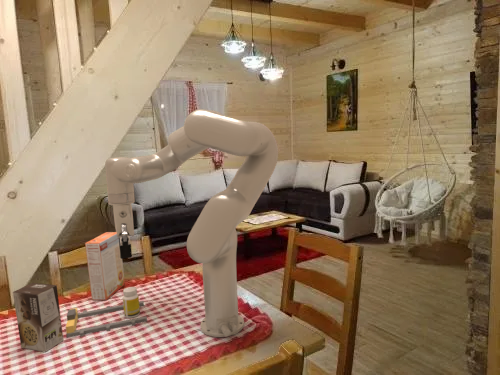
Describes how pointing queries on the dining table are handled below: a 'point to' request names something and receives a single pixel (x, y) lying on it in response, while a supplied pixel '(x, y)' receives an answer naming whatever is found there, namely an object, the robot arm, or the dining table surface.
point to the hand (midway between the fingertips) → (125, 253)
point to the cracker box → (104, 266)
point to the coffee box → (38, 316)
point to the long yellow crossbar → (71, 320)
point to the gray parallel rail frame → (106, 326)
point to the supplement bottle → (131, 302)
